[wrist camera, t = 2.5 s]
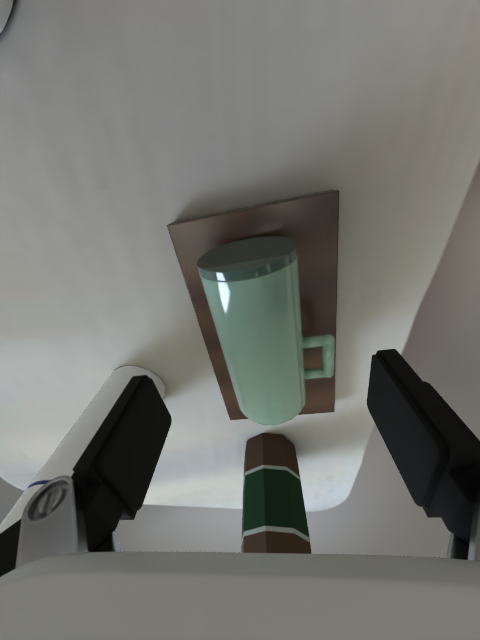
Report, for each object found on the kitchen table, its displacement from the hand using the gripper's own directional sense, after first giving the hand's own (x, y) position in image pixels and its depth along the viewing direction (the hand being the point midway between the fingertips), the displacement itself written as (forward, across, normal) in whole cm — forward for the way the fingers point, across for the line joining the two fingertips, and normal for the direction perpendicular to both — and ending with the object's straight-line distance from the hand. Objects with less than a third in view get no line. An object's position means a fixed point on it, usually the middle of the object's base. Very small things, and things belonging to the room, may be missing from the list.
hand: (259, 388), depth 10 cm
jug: (+9, -1, +10) cm, 13 cm away
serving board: (+14, 0, +6) cm, 15 cm away
